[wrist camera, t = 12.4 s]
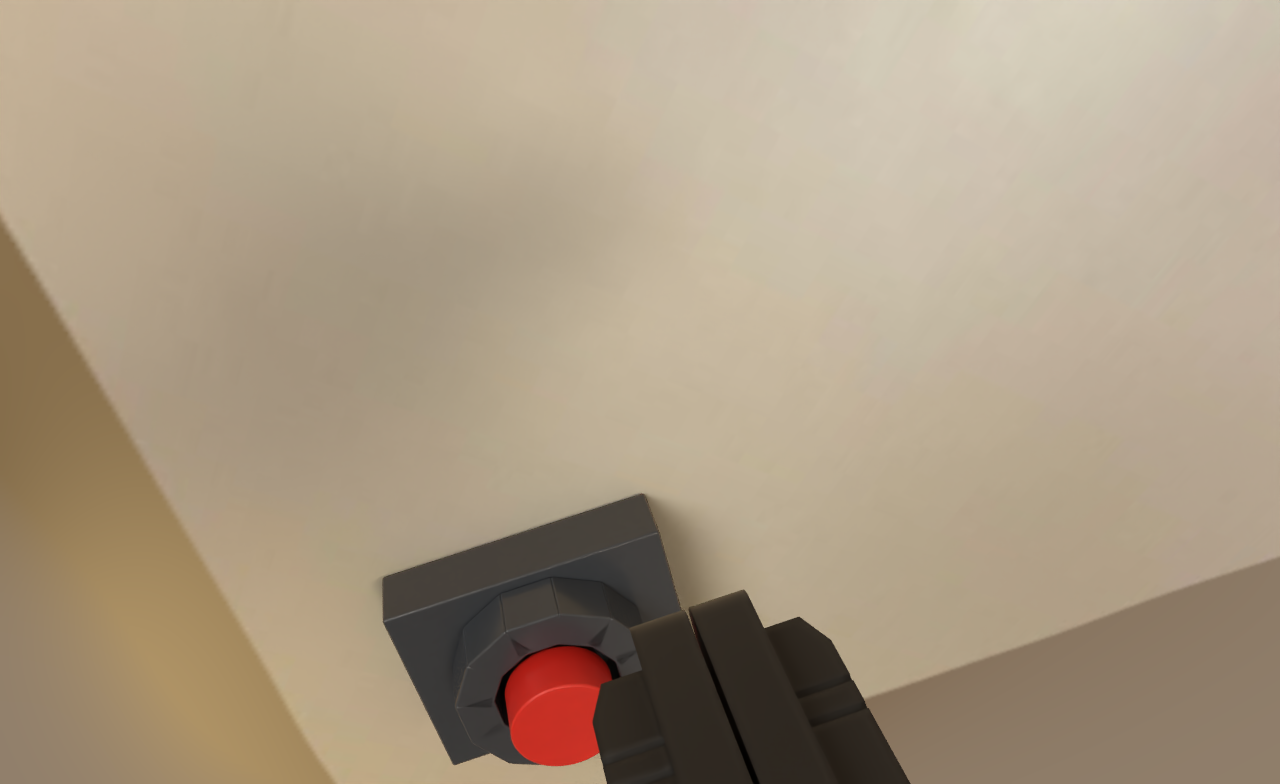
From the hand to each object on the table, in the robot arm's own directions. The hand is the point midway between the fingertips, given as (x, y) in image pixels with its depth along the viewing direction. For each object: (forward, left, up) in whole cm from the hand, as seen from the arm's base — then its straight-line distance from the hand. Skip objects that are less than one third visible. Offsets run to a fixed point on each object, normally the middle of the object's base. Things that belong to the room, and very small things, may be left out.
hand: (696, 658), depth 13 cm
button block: (+6, -14, -19) cm, 24 cm away
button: (+6, -14, -15) cm, 21 cm away
